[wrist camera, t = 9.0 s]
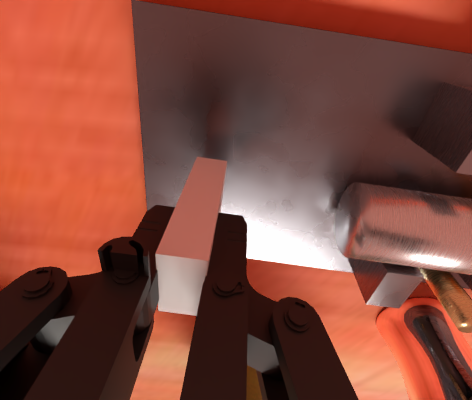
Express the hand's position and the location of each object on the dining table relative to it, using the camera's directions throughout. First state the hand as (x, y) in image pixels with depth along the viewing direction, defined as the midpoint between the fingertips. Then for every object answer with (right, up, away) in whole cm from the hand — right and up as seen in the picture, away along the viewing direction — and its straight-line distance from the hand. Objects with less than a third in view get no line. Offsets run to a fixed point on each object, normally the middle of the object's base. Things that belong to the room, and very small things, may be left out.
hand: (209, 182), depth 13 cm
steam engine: (+10, 0, +2) cm, 10 cm away
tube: (+15, -1, +2) cm, 15 cm away
